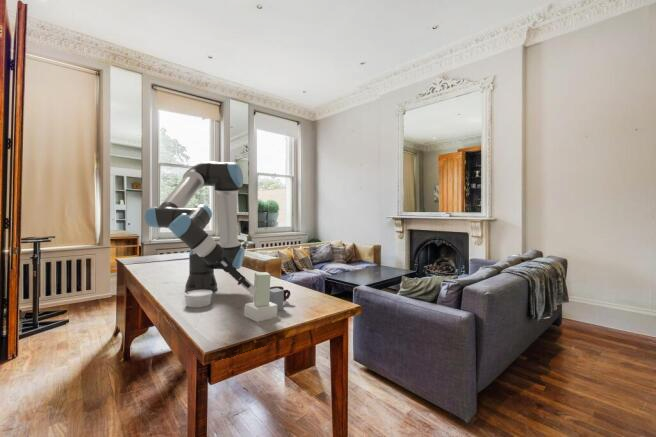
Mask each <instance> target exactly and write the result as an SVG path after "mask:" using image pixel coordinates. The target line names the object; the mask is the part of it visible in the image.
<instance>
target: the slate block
mask: <svg viewBox="0 0 656 437" xmlns="http://www.w3.org/2000/svg"><path fill="white" fill-rule="evenodd" d="M284 290H285V289H284ZM284 290H281V289H279V288H274V289H270V299H269V302H272V303H274V304H277V312H278V311H282V310H284V305H285V304H284Z"/></svg>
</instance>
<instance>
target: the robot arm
mask: <svg viewBox="0 0 656 437" xmlns="http://www.w3.org/2000/svg"><path fill="white" fill-rule="evenodd" d="M243 176H244V175H243V170H242V168H241V166H240V164H238V163H237V162H230V161H228V162H227V161H226V162H225V161H224V162H223V161H219V162H218V161H203V162H200V163H197V164H196V165H193V166H191V167H190V168H189V169H188V170H186V171H185V172H184V173H183V175H182V180H181V181H180V182H178V184H177V186H176V187H175V188H174V189H173V190H172V191H171V192H170V193H169V195H168V196H167V197H166V198H165V199H164V200H163V202H162V203H161V204H160V205H159V206H151V207H148V208H147V209H146V211H145V214H144V221H145V223H146V225H147V226H148V227H151V228H158V229H160V228H163V229H165V228H167V229H169V231H171V233H173V234H174V235H175V237H176V238H178V239H179V240H180V241H181V242H183V243H184V244H185V245H186V246H187V247H189V255H188V259H189V264H188V266H189V267H188V268H189V269H188V270H189V272H188V277H187V279H186V280H187V281H186V283H185V288H184V291H185V293H187V292H189V291H193V290H203V289H204V290H211V291H212V292H213V291H216V290H217V289H218V282H217V279H216V276H215V270H223V271H224V272H225V273H228V275H230V276H231V277H232V278H233V279H234V280H235V281H236V282H237V285H238V286H240V285H241V286H242V287H243V288H244V289H245V290H246V291H247V292H249V293H250V295H251V296H254V293H255V292H256V291H257V290H258V289H257V288H256V287H255V286H254V283H252V282H250V281H249V280H248V279H247V278H246V276H244V275H243V274H241V272H240V271H239V270H240V268H242V265H243V262H244V259H245V253H246V252H245V247H244V246H242V244H241V241H239V240H238V210H237V209H238V207H237V206H238V205H237V204H238V202H237V194H238V193H239V191H240V188H242V187H243V185H244V177H243ZM203 187H214V191H215V192H216V193H217V198H218V204H217V205H218V225H219V226H218V227H219V228H218V229H219V241H218V242H217V241H216V240H215V239H214V238H213V237H212V236H211V235H210V234H209V233H207V232H206V231H205V228H206V227H207V225H209V223H210V221H211V219H212V216H213V212H212V210H211V208H210V207H209V206H208V205H205V204H197V205H195V206H194V207H193V208H191V207H190V208H189V207H186V206H187V205H189V203H190V201H191V200H192V198H193V197H194V196H195V194H197V192H198V191H199V190H201V189H202V188H203Z"/></svg>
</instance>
